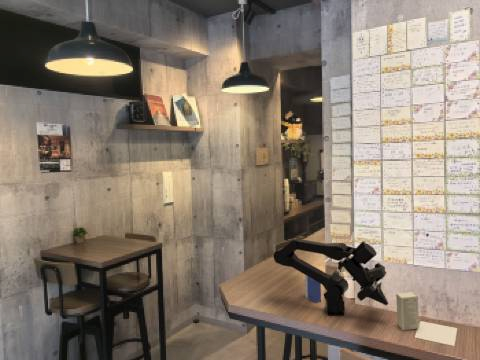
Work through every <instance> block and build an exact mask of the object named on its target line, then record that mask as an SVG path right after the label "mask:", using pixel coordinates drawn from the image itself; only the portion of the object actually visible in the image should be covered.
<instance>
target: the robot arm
mask: <svg viewBox="0 0 480 360" xmlns="http://www.w3.org/2000/svg"><path fill="white" fill-rule="evenodd" d="M296 251H304V252H307V253H308V252H309V253H312V254H313V253H314V254H318V255H319V254H320V255H323V256H326V258H329V259H331V260H334V261H337V265H338V266H337V267H338V268H337V269H338V270H341V269H342V268H343V269H345V271H346V272H347V273H348V274H349V275H350V276H351V277H352V279H351V280H352V281H353V282H356V283H357V284H358V285H359V286H360V288H359V291H358V292H357V293H356V297H357V299H358V300H359V301H360V302H362V301H364V300H365V299H367V298H368V299H371V300H374V301H376V302H378V303H380V304H382V305H384V306H388V305H389V301H388V300H387V298H386V296H385V294H384V292H383V290H382V282H380V283H378V282H379V281H381V280H383V278H384V277H385V276H386V275H387V272H386V267H385V266H384V265H383V264H381V263H380V262H378V263H375V264H374V267H373V268H371V269H370V268H368V267H364V266H363V265H366V264H367V263H368V262H370V261H371V260H373V258H374V257H376V256H377V251H376V249H375V248H374V247H373V246H372V245H370V244H369V243H366V242H365V241H364V240H363V241H361V242H360V243H359V245H358V246H357V247H353V246H349V245H347V244H346V243H344V242H330V243H328V242H327V243H324V242H320V241H312V240H305V239H301V238H297V237H296V238H294V239H292V240H290V242H289V243H288V244H286V245H285V246H284V247H281V248H279V249H278V250H275V251H274V253H273V261H274V262H275V263H276V264H278V265H281V266H284V267H291V268H292V269H294V270H296V271H298V272H300V273H302V274H303V275H304V276H305V275H307V276H308V277H310V278H312V279H314V280H315V281H317V282H319V283H321V285H322V286H323V287H324V289H325V290H326V291H325V292H323V298H324V300H325V307H324V308H325V312H326V314H327V316H345V313H344V312H345V311H346V310H345V306H346V305H345V300H344V298H343V295H344V294H345V293H346V292H347V291H348V290H349V283H348V281H347V279H346V278H345V276H342V275H340V274H339V273H338V272H333V273H332V274H328V273H326V272H324V271H323V270H321V269H319V268H317V267H316V266H314V265H312V264H310V263H308V262H307V261H305V260H303V259H301V258H299V257H298V255H297V254H296V253H295V252H296ZM350 256H351V257H350ZM362 264H363V265H362Z"/></svg>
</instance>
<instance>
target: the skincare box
mask: <svg viewBox="0 0 480 360" xmlns="http://www.w3.org/2000/svg"><path fill="white" fill-rule="evenodd" d="M395 296H396V297H395V299H396V314H397V315H396V317H397V318H396V319H397V326H398V327H399V328H400V329H401V330H403V331H405V330H407V331H408V330H417V329H418V328H419V324H420V319H419V317H420V316H419V297H418V296H419V295H417V294H416V293H414V292H413V291H407V292H406V291H405V292H397V293H396V294H395Z"/></svg>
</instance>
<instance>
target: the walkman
mask: <svg viewBox="0 0 480 360" xmlns="http://www.w3.org/2000/svg"><path fill="white" fill-rule="evenodd" d="M321 285H322V284H321V283H319V282H317V281H315V280H314V279H312V278H310V277H308V276H307V275H305V274H304V290H305V291H304V297H305V298H306V299H308V300H310V301H312V302H313V303H315V304H317V303H321V302H322V287H321Z"/></svg>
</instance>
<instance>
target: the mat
mask: <svg viewBox="0 0 480 360" xmlns="http://www.w3.org/2000/svg"><path fill="white" fill-rule="evenodd" d="M415 332H416V333H415V336H414V338H415V339H419V340H424V341H428V342H432V343H436V344H441V345H446V346H450V347H455V346H456V339H457V333H458V327H452V326H447V325H443V324H438V323H432V322H427V321H422V320H419V328H418V329H416V331H415Z"/></svg>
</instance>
